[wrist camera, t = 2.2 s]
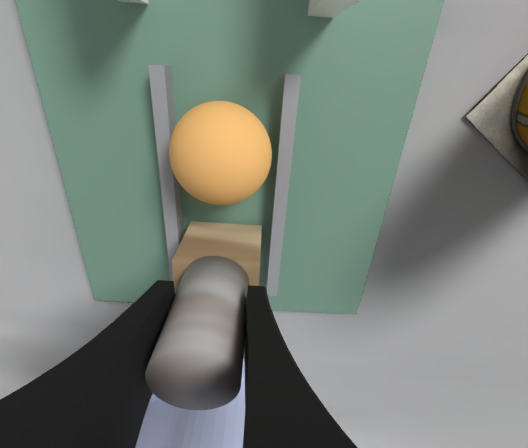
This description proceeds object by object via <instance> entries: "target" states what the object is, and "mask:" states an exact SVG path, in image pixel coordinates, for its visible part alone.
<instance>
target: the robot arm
mask: <svg viewBox="0 0 528 448" xmlns="http://www.w3.org/2000/svg"><path fill="white" fill-rule="evenodd" d="M174 297H175V289H174V281H165V280H157V281H156V282H155V283H154V284H153V285H152V286H151V287H150V288H149V289H148V290H147V291H146V292H145V293H144V294H143V295H142V296H141V297H140V298H138V299H137V300H136V301H135V302H134V303H133V304H132V305H131V306H130V307H129V308H128V309H127V310H126V311H125V312H124V313H122V314H121V315H120V316H119V317H118V318H117V319H116V320H115V321H114V322H112V323H111V324H110V325H109V326H108V327H107V328H105V329H104V330H103V331H102V332H101V333H99V334H98V335H97V336H96V337H95V338H93V339H92V340H91V341H90V342H88V343H87V344H86V345H84V346H83V347H82V348H80V349H79V350H78V351H76V352H75V353H74V354H72V355H71V356H70V357H68V358H67V359H65V360H64V361H62V362H61V363H60V364H58V365H56V366H55V367H53V368H52V369H50V370H49V371H47V372H46V373H44V374H42V375H41V376H39V377H38V378H36V379H35V380H33V381H32V382H30V383H28V384H27V385H25V386H23V387H22V388H20V389H18V390H17V391H15V392H13V393H11V394H10V395H8V396H6V397H4V398H3V399H1V400H0V448H357V447H356V445H355V444H354V443H353V442H352V441H351V440H350V438H349V437H348V436H347V435H346V434H345V432H344V431H343V430H342V429H341V428H340V426H339V425H338V424H337V422H336V421H335V420H334V419H333V417H332V416H331V415H330V414H329V412H328V411H327V409H326V408H325V407H324V405H323V404H322V402H321V401H320V400H319V398H318V397H317V395H316V394H315V393H314V391H313V390H312V388H311V387H310V385H309V384H308V382H307V381H306V379H305V377H304V376H303V374H302V373H301V371H300V369H299V368H298V366H297V364H296V362H295V361H294V359H293V357H292V355H291V353H290V351H289V349H288V347H287V345H286V343H285V341H284V339H283V337H282V335H281V333H280V330H279V328H278V325H277V323H276V320H275V318H274V315H273V312H272V309H271V306H270V303H269V299H268V295H267V289H266V288H265V287H264V286H253V285H248V290H247V302H246V331H245V344H244V358H243V368H242V380H241V389H240V391H239V393H238V395H237V396H236V397H235V398H234V399H233V400H232V401H231V402H229V403H228V404H226V405H224V406H221V407H219V408H215V409H210V410H188V409H182V408H178V407H175V406H172V405H170V404H168V403H166V402H164V401H162V400H161V399H159V398H158V397H156V396H155V395H154V394H153V393H152V392H151V391H150V389H149V388H148V386H147V384H146V381H145V371H146V369H147V366H148V363H149V361H150V358H151V356H152V353H153V351H154V348H155V346H156V343H157V341H158V338H159V335H160V333H161V330H162V328H163V325H164V323H165V320H166V318H167V315H168V313H169V310H170V308H171V305H172V303H173V300H174ZM148 404H149V405H148ZM147 407H148V408H147Z"/></svg>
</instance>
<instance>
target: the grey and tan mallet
mask: <svg viewBox="0 0 528 448" xmlns="http://www.w3.org/2000/svg"><path fill="white" fill-rule="evenodd" d="M261 229H262V225H246V224H229V223H213V222H197V221H191V222H190V224H189V226H188V228H187V230H186V232H185V234H184V237H183V239H182V241H181V243H180V245H179V247H178V249H177V251H176V253H175V255H174V257H173V259H172V270H173V280H174V289H175V297H174V300H173V303H172V305H171V308H170V310H169V313H168V315H167V318H166V320H165V323H164V325H163V328H162V330H161V333H160V335H159V338H158V341H157V343H156V346H155V348H154V351H153V353H152V356H151V358H150V361H149V363H148V366H147V369H146V371H145V381H146V384H147V386H148V388H149V389H150V391H151V392H152V393H153V394H154V395H155V396H156V397H158V398H159V399H161V400H162V401H164V402H166V403H168V404H170V405H172V406H175V407H178V408H182V409H188V410H210V409H215V408H219V407H221V406H224V405H226V404H228V403H229V402H231V401H232V400H233V399H234V398H235V397H236V396H237V395H238V393H239V391H240V389H241V380H242V368H243V356H244V344H245V331H246V302H247V290H248V285H253V286H259V275H260V255H261Z"/></svg>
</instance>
